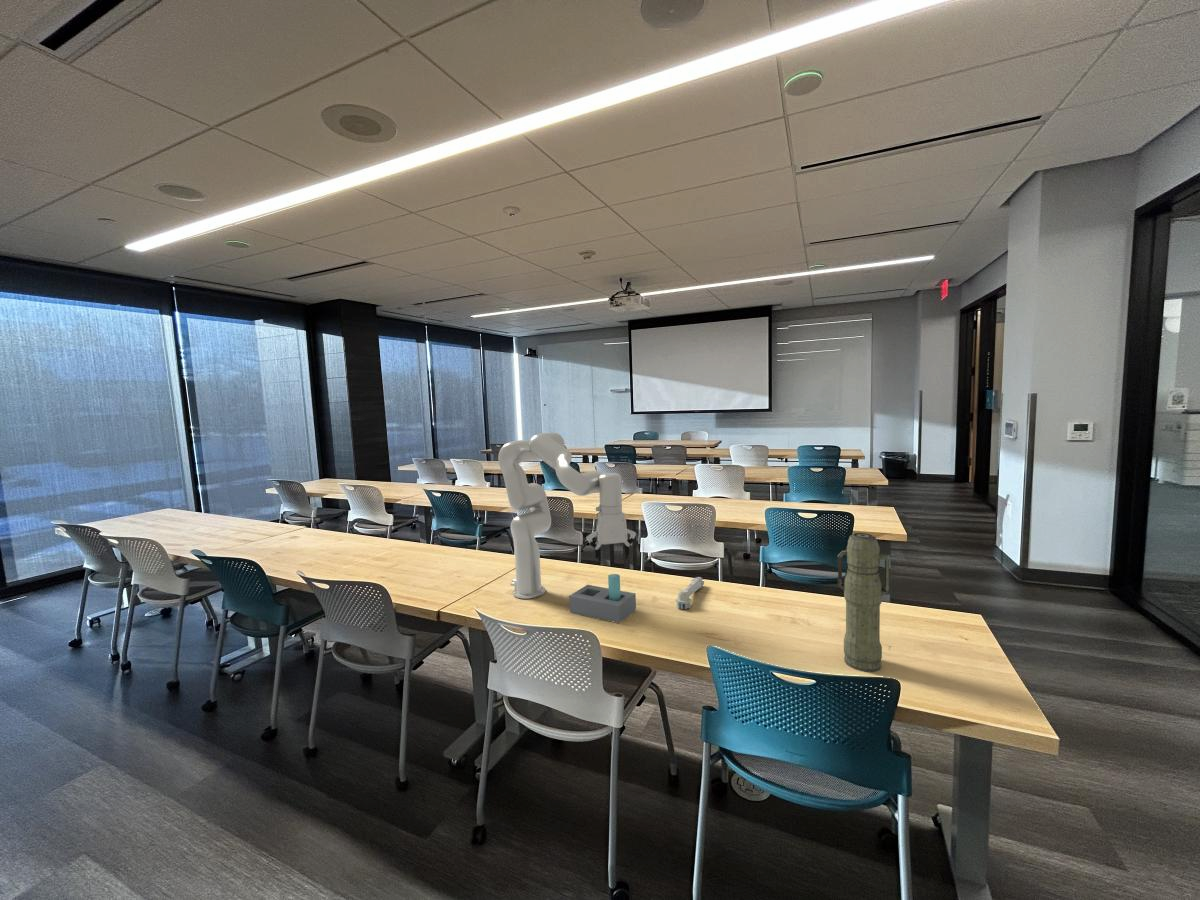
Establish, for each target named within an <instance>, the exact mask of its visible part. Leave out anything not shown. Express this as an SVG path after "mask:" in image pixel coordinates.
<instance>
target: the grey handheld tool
mask: <svg viewBox="0 0 1200 900" xmlns="http://www.w3.org/2000/svg"><path fill="white" fill-rule="evenodd" d="M702 580H704V578H703V577H701V576H697V577H694V578H693V579H691V582H690V583H689V584H688V585H687V586H686V587H685V588H683V589H679V590H678V593H677V597H676V598H675V602H676V608H677V609H680V610H687V609H691V603H692V598H690V597H691V596H692V595H693V594H695V593H696V592H697V591H698V590H701V589H702V588H703V587H704V584H705V580H704V581H702ZM699 588H700V589H699Z"/></svg>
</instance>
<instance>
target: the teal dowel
mask: <svg viewBox="0 0 1200 900" xmlns="http://www.w3.org/2000/svg"><path fill="white" fill-rule="evenodd" d="M607 581H608V584H607V585H608V588H609V600H613V601H619V600H620V599H621V595H620V591H621V576H620V574H618V573H611V574H608V575H607Z"/></svg>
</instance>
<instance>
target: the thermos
mask: <svg viewBox="0 0 1200 900" xmlns="http://www.w3.org/2000/svg"><path fill="white" fill-rule="evenodd" d="M880 549H881V547H880V545H879V543H878V540H877V537H876V536H875V535H873V534H870V533H868V532H867V533H865V532H855V533H852V534H850V535H849V538H848V540H847V545H846V549H845V550H843V549H842V550H841V552H839V554H837V575H838V577H837V585H838V587H839V588H840V589H841V590H842V591H843V595H844V596H843V597H844V600H845V634H844V638H843V653H844V663H845V664H846V665H847V666H849V667H850V668H852V669H854V670H856V671H860V672H865V673H873V672H878V671H879V670H881V668H882V663H881V662H882V657H883V646H882V643H881V640H880V639H881V638H880V637H881V636H880V631H881V630H880V629H881V625H880V624H881V623H880V622H881V620H880V619H881V618H880V617H881V616H880V615H881V604H882V603H883V597H884V595H889V592H890V591H889V590H890V560H889V558H888V556H887V555H886V554H884V553H881V552H880V551H881V550H880ZM843 556H846V564H847V567H846V573H845V574H844V578H843V562H842V561H843ZM882 559H883V560H884V587H883V581H882V579H881V576H880V569H879V568H880V560H882ZM842 581H843V582H842Z"/></svg>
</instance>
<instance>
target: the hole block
mask: <svg viewBox="0 0 1200 900" xmlns="http://www.w3.org/2000/svg"><path fill="white" fill-rule="evenodd" d="M620 595H621V599H620V600H619V601H613V600H609V587H602V586H597V585H592V584H586V585H584V586H583V587H581V588H580V589H578V590H576V591H575V592H573V593H571V594H570V595H569V596H568V603H569V613H571V614H575V615H578V616H585V617H587V618H592V617H594V618H593V619H597V618H599V619H598V620H601V619H604V620H603V621H606V620H609V621H608V622H610V621H614V622H618V623H617V624H619V623H620V622H621V621H622V622H623V621H624V619H625V618H626V617H627V616H628V617H629V616H631V615H632V614H633V613H634V612H636V611H637V599H636V597H637V596H636V593H634V592H630V591H626V590H625V591H624V590H620ZM635 610H636V611H635ZM632 612H633V613H632ZM631 613H632V614H631ZM630 614H631V615H630ZM628 617H627V618H628ZM627 618H626V619H627ZM626 619H625V620H626ZM614 622H613V623H614ZM622 622H621V623H622ZM621 623H620V624H621Z"/></svg>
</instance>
